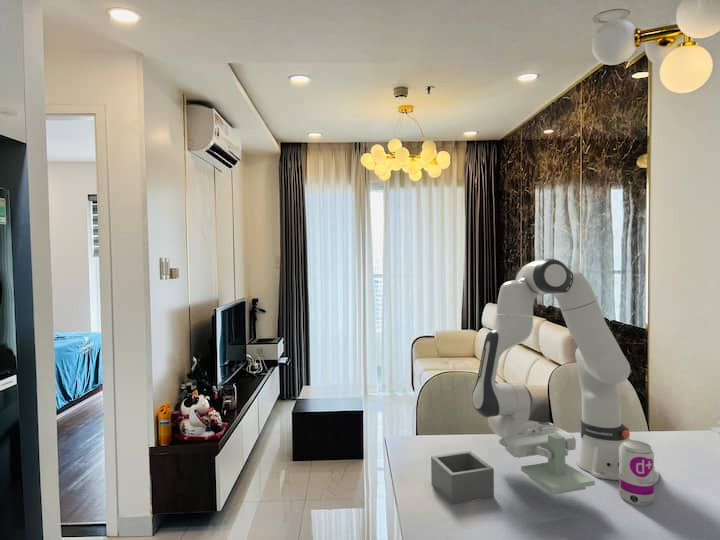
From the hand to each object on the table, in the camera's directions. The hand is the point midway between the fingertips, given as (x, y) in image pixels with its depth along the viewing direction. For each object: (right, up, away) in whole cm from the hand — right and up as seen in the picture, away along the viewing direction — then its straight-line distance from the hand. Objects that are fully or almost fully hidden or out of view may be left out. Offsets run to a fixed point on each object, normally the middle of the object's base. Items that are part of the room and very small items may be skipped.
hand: (558, 454), depth 125 cm
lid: (0, -8, +1) cm, 8 cm away
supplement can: (+23, -14, +3) cm, 27 cm away
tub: (-24, -14, +10) cm, 29 cm away
